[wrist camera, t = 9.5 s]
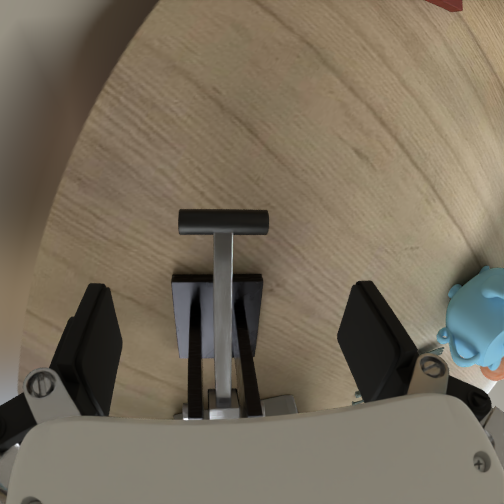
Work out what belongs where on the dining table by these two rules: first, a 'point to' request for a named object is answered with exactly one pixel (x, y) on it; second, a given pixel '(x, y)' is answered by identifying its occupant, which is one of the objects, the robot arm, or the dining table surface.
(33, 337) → the dining table surface
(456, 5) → the block
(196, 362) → the bracket
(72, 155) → the dining table surface
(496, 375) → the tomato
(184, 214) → the lever
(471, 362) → the teapot
